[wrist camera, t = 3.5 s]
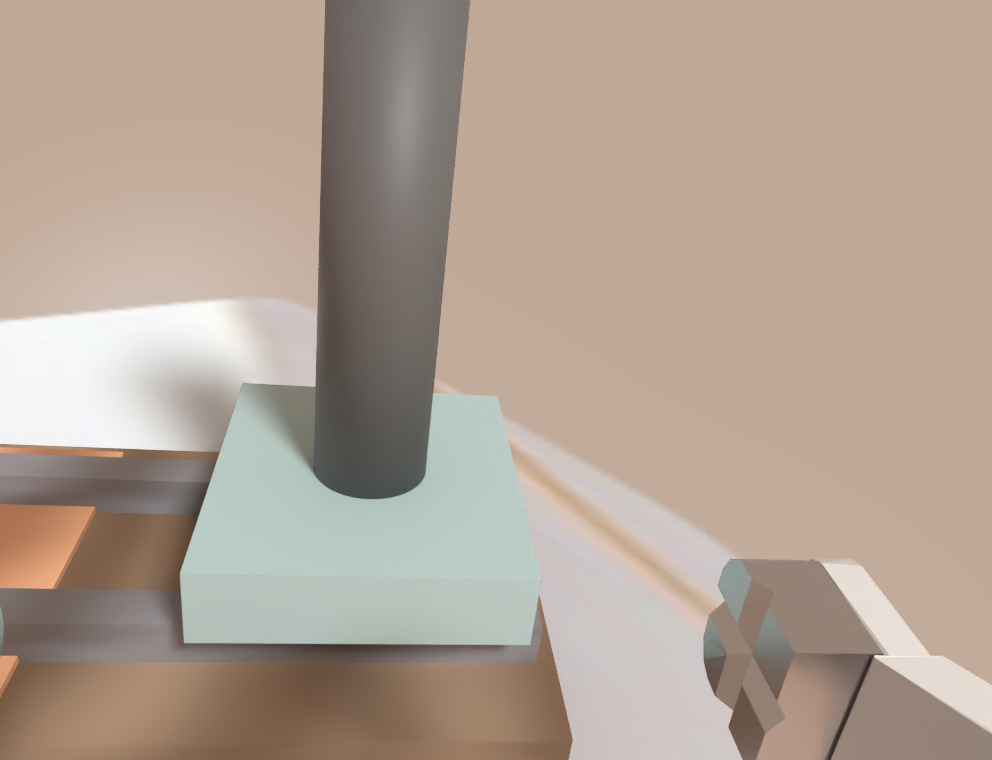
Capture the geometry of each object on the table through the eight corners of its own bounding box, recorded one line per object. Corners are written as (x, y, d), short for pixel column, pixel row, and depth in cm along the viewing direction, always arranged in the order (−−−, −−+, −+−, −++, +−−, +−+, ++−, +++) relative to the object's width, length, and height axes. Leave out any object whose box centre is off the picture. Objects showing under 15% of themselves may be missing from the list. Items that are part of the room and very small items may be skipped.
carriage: (183, 643, 19) (142, -41, 13) (243, 438, 27) (235, -48, 21) (530, 645, 21) (640, 20, 14) (490, 449, 28) (550, -8, 22)
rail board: (-728, 808, 17) (-863, 634, 15) (-295, 472, 27) (-339, 345, 25) (563, 783, 21) (593, 643, 19) (503, 498, 31) (519, 389, 29)
